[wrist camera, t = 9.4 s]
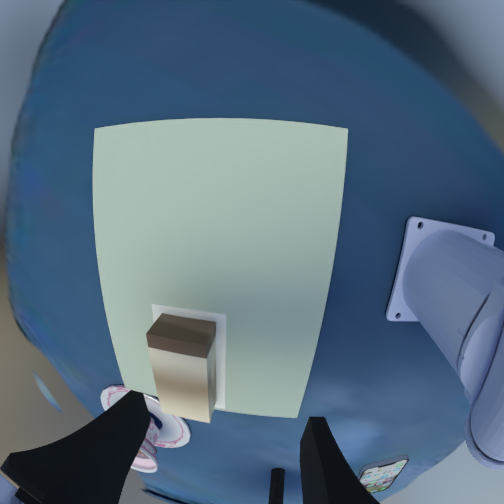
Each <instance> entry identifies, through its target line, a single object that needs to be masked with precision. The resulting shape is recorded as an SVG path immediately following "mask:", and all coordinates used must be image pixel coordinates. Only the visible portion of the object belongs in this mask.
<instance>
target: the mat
mask: <svg viewBox="0 0 504 504" xmlns="http://www.w3.org/2000/svg"><path fill="white" fill-rule="evenodd" d="M347 137H348V129H345V128H339V127H333V126H326V125H318V124H310V123H301V122H291V121H279V120H264V119H241V118H198V119H175V120H160V121H149V122H139V123H130V124H122V125H115V126H108V127H102V128H96V129H95V134H94V151H93V211H94V228H95V241H96V251H97V260H98V268H99V275H100V282H101V288H102V294H103V300H104V306H105V311H106V316H107V321H108V325H109V330H110V334H111V338H112V342H113V346H114V350H115V354H116V358H117V361H118V365H119V369H120V372H121V375H122V379H123V382H124V385H125V387H126V388H129V389H132V390H135V391H139V392H142V393H145V394H149V395H153V396H156V397H158V394H157V389H156V385H155V380H154V375H153V371H152V366H151V360H150V355H149V349H148V344H147V337H146V333H147V332H148V330H149V329H150V328H151V326H152V325H153V324H154V322H155V321H156V320H157V319H158V317H159V316H160V315H161V313H164V314H170V315H175V316H181V317H187V318H194V319H200V320H207V321H214V322H216V391H217V400H216V404H215V407H214V409H216V410H223V411H229V412H236V413H244V414H252V415H262V416H273V417H288V418H297V416H298V413H299V409H300V406H301V403H302V399H303V396H304V392H305V389H306V385H307V381H308V378H309V374H310V370H311V366H312V363H313V359H314V355H315V350H316V346H317V342H318V338H319V333H320V329H321V324H322V320H323V315H324V310H325V305H326V300H327V295H328V290H329V285H330V279H331V274H332V268H333V262H334V256H335V249H336V243H337V236H338V229H339V221H340V214H341V205H342V197H343V187H344V177H345V166H346V153H347Z"/></svg>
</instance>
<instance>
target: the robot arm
mask: <svg viewBox="0 0 504 504" xmlns="http://www.w3.org/2000/svg"><path fill="white" fill-rule="evenodd" d="M419 222H421V226H420V227H419V228H418V223H419ZM483 235H484V237H483ZM494 240H495V236H494V233H492V232H489V231H484V230H480V229H476V228H471V227H466V226H462V225H457V224H452V223H447V222H442V221H436V220H431V219H426V218H420V217H414V216H413V217H410V218H409V219H408V221H407V225H406V231H405V236H404V242H403V247H402V252H401V256H400V261H399V265H398V270H397V274H396V278H395V282H394V286H393V290H392V293H391V297H390V301H389V304H388V308H387V311H386V318H387V319H388V320H389V321H419V322H420V323H421V324H422V326H423V327H424V328H425V330H426V331H427V332H428V334H429V335H430V336H431V338H432V339H433V340H434V342H435V343H436V344H437V346H438V347H439V349H440V350H441V351H442V353H443V354H444V356H445V357H446V359H447V360H448V362H449V363H450V364H451V366H452V367H453V369H454V370H455V372H456V373H457V375H458V376H459V378H460V380H461V381H462V383H463V385H464V386H465V389H464V395H465V397H466V398H467V400H468V402H469V403H470V405H471V408H470V410H469V412H468V415H467V417H466V422H465V440H466V444H467V447H468V448H469V451H470V453H471V454H472V455H473V457H474V458H475V459H476V460H477V461H478V462H479V463H481V464H482V465H484V466H486V467H489V468H492V469H498V470H504V251H502V250H500V249H498V248H496V247H494V246H493V244H494ZM397 313H399V315H398V316H396V314H397ZM150 422H151V417H150V414H149V411H148V408H147V405H146V401H145V398H144V394H143V393H141V392H137V391H134V390H130V391H129V392H128V393H126V394H125V395H124V396H123V397H122V398H121V399H119V400H118V401H117V402H116V403H115V404H113V405H112V406H111V407H110V408H109V409H107V410H106V411H105V412H103V413H102V414H101V415H100V416H98V417H97V418H96V419H94V420H93V421H91V422H90V423H88V424H87V425H86V426H84V427H82V428H81V429H79V430H78V431H76V432H74V433H72V434H71V435H69V436H67V437H65V438H62V439H60V440H58V441H56V442H53V443H51V444H48V445H45V446H42V447H39V448H35V449H32V450H27V451H21V452H15V453H10V455H9V456H8V457H7V459H6V460H5V461H4V463H3V464H2V466H1V467H0V469H1V471H2V472H3V473H4V474H6V475H7V476H8V477H9V478H10V479H11V480H12V481H13V482H15V483H16V484H17V485H18V486H19V489H17V488H16V487H15V486H13V485H12V484H11V483H10V482H9V481H7V480H6V479H5V478H4V477H3V476H2V475H1V474H0V504H118V503H119V499H120V495H121V492H122V488H123V486H124V482H125V479H126V476H127V474H128V472H129V470H130V468H131V466H132V464H133V462H134V460H135V458H136V456H137V454H138V452H139V450H140V447H141V445H142V443H143V441H144V439H145V437H146V434H147V431H148V428H149V425H150ZM300 469H301V481H302V492H303V504H380V503H379V502H378V501H377V500H376V499H375V498H374V497H373V496H372V495H371V494H370V493H369V492H368V490H367V489H366V488H365V487H364V486H363V484H362V483H361V482H360V481H359V479H358V478H357V476H356V475H355V474H354V472H353V471H352V469H351V468H350V466H349V464H348V463H347V461H346V460H345V458H344V456H343V454H342V452H341V451H340V449H339V447H338V445H337V443H336V441H335V439H334V437H333V435H332V433H331V431H330V428H329V426H328V424H327V421H326V418H325V417H309V420H308V422H307V425H306V428H305V431H304V433H303V436H302V438H301V441H300Z"/></svg>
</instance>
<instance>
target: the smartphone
mask: <svg viewBox="0 0 504 504" xmlns="http://www.w3.org/2000/svg"><path fill="white" fill-rule="evenodd" d="M408 461H409V458H408V455H403V456H399V457H396V458H392V459H388V460H384V461H380V462H376V463H372V464H368V465H365V466H363V467H362V468H361V471H360V473H359V476H358V479H359V481H360V482H361V483H362V484H363V486H364V487H365V488H366V489H367V490H368V492H369V493H370V494H371V493H375V492H379V491H383V490H386V489H388V488H389V487H390V485H391V484H392V483H393V482H394V480H395V479H396V478H397V476H398V475H399V473H400V472H401V471H402V469H403V468H404V466H405V465H406V463H407V462H408Z"/></svg>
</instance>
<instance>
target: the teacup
mask: <svg viewBox="0 0 504 504" xmlns="http://www.w3.org/2000/svg"><path fill="white" fill-rule="evenodd" d="M130 390H132V389H129V388H126V387H125V386H123V385H111V386H109V387H107V388H105V389H104V390H103V392H102V394H101V403H102V406H103V408H104V410H105V411H106V410H107V409H109V408H110V407H111V406H112V405H113V404H115V403H116V402H117V401H118V400H119V399H121V398H122V397H123V396H124V395H125V394H126V393H128V392H129V391H130ZM134 391H135V390H134ZM137 392H139V391H137ZM141 393H142V392H141ZM143 394H144V398H145V401H146V405H147V408H148V411H149V412H151V413H153V414H154V415H155V416H156V417H158V418H159V420H160V421H161V422H162V428H161V429H160V430H159V429H158V428H157V426H156V425H155V421H154V419H153V418H152V417H151V416H150V417H151V422H150V425H149V428H148V431H147V434H146V437H145V439H144V441H143V443H142V445H141V447H140V450H139V452H138V454H137V456H136V458H135V460H134V462H133V464H132V466H131V468H133V469H135V470H138V471H141V472H146V473H153V472H156V471H157V470H158V460H157V458H156V456H155V455H156V453H157V450H156V448H155V446H159V447H167V448H176V447H181V446H184V445H185V444H186V443H188V442H189V439H190V436H191V432H190V429H189V426H188V424H187V423H186V422H185V420H184V419H183V418H182V417H178V416H174V415H170V414H166V413H163V412H162V410H161V406H160V402H159V399H157V398H156V397H154V396H152V395H149V394H145V393H143Z"/></svg>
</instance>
